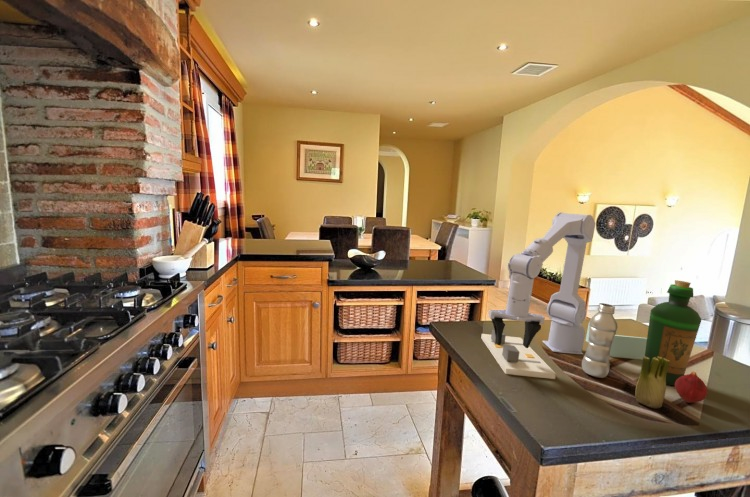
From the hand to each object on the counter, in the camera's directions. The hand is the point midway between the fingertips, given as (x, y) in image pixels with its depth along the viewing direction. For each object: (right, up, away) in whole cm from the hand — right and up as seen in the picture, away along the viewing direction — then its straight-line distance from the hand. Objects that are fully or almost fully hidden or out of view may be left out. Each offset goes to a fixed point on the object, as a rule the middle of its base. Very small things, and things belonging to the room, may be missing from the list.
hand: (511, 345), depth 95 cm
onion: (+39, -11, -11) cm, 42 cm away
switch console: (+3, -5, +7) cm, 9 cm away
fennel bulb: (+27, -10, -14) cm, 32 cm away
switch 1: (0, -3, +12) cm, 13 cm away
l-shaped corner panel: (+42, -8, +19) cm, 47 cm away
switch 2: (0, -4, +1) cm, 4 cm away
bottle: (+42, -10, +1) cm, 44 cm away
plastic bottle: (+22, -8, -1) cm, 24 cm away
